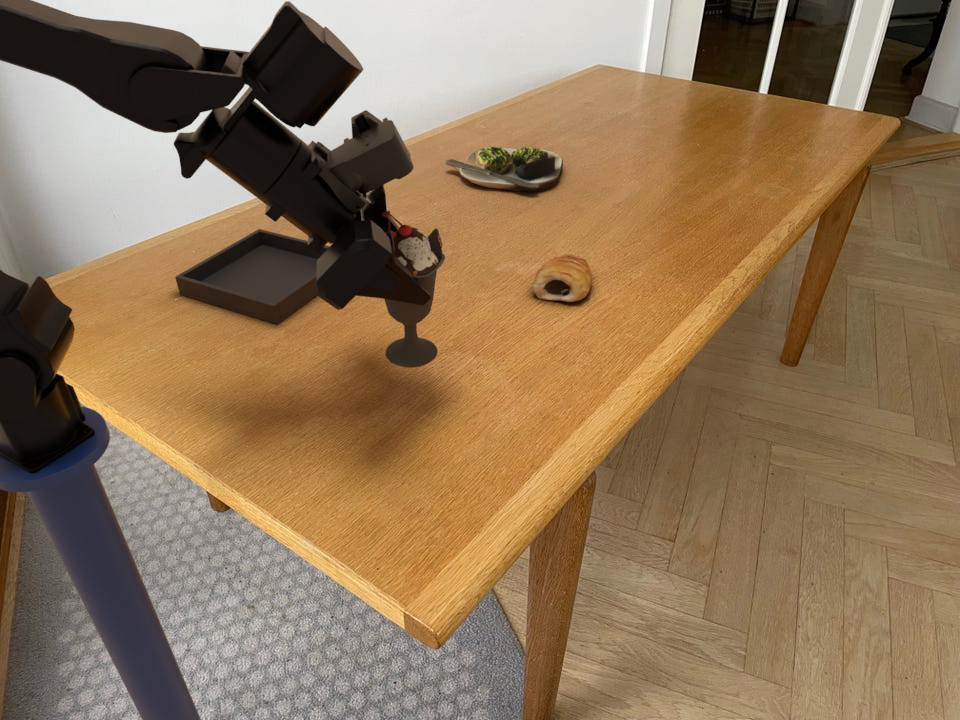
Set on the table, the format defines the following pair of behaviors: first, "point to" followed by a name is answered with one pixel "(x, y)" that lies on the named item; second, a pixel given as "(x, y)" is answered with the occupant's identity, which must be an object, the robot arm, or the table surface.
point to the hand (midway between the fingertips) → (423, 282)
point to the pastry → (563, 279)
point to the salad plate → (511, 168)
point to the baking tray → (256, 276)
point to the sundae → (423, 264)
